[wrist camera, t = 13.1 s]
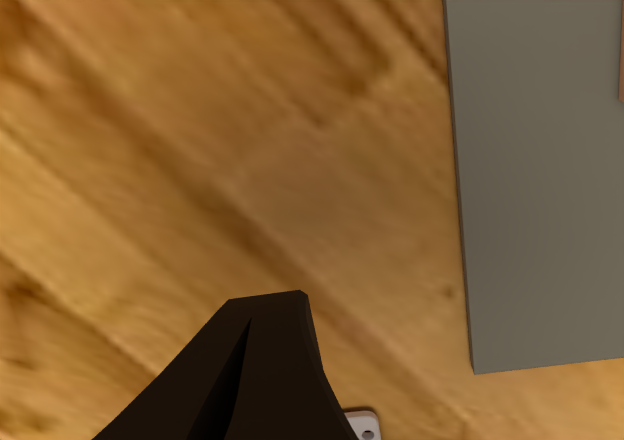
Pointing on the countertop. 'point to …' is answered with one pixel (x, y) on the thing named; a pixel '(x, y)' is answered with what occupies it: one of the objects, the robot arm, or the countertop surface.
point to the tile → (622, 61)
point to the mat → (539, 178)
